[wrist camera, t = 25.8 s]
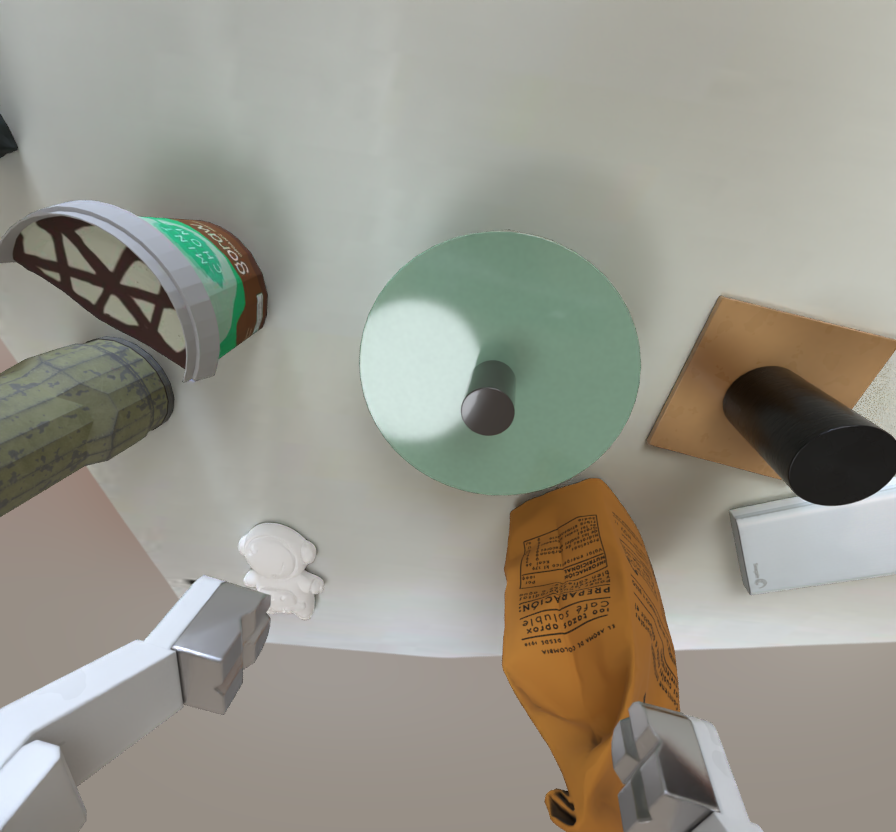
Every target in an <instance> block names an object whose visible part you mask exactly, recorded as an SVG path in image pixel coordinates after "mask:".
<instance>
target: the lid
mask: <svg viewBox="0 0 896 832" xmlns="http://www.w3.org/2000/svg"><path fill="white" fill-rule="evenodd" d="M359 367H360V380H361V385H362V389H363V394H364V398H365V400H366V403H367V406H368V409H369V412H370V414H371V416H372V418H373V420H374V422H375V424H376V426H377V427H378V429H379V430H380V432H381V433H382V435H383V436H384V438H385V439H386V440H387V442H388V443H389V444H390V445H391V446H392V448H393V449H394V450H395V451H396V452H397V453H398V454H399V455H400V456H401V457H402V458H403V459H405V460H406V461H407V462H408V463H409V464H411V465H412V466H413V467H415V468H416V469H417V470H419V471H420V472H422V473H424V474H425V475H427V476H429V477H430V478H432V479H434V480H436V481H439V482H441V483H443V484H445V485H448V486H451V487H454V488H457V489H460V490H463V491H468V492H472V493H477V494H486V495H517V494H526V493H530V492H535V491H540V490H543V489H546V488H549V487H552V486H555V485H557V484H560V483H562V482H564V481H566V480H568V479H570V478H572V477H574V476H575V475H577V474H579V473H580V472H582V471H583V470H585V469H586V468H588V467H589V466H590V465H591V464H593V463H594V462H595V461H596V460H598V459H599V458H600V457H601V456H602V455H603V454H604V453H605V452H606V450H607V449H608V448H609V447H610V446H611V445H612V444H613V442H614V441H615V440H616V438H617V437H618V436H619V434H620V433H621V431H622V429H623V427H624V426H625V424H626V422H627V420H628V419H629V416H630V414H631V411H632V409H633V406H634V403H635V401H636V396H637V392H638V388H639V383H640V371H641V359H640V346H639V342H638V337H637V332H636V328H635V326H634V323H633V320H632V318H631V315H630V313H629V310H628V308H627V307H626V305H625V303H624V301H623V300H622V298H621V296H620V294H619V293H618V292H617V290H616V289H615V288H614V286H613V285H612V284H611V283H610V281H609V280H608V279H607V278H606V277H605V276H604V275H603V274H602V273H601V272H600V271H599V270H598V269H597V268H596V267H595V266H594V265H593V264H591V263H590V262H589V261H588V260H586V259H585V258H583V257H582V256H580V255H579V254H577V253H576V252H575V251H573V250H571V249H569V248H567V247H565V246H563V245H561V244H559V243H557V242H555V241H552V240H549V239H546V238H543V237H539V236H536V235H532V234H526V233H521V232H515V231H486V232H477V233H471V234H467V235H463V236H459V237H455V238H452V239H450V240H447V241H445V242H442V243H440V244H437V245H435V246H433V247H431V248H430V249H428V250H426V251H424V252H423V253H421V254H419V255H418V256H416V257H415V258H413V259H412V260H411V261H410V262H408V263H407V264H406V265H405V266H403V267H402V268H401V269H400V270H399V271H398V272H397V273H396V274H395V275H394V276H393V277H392V278H391V280H390V281H389V282H388V283H387V284H386V286H385V287H384V289H383V290H382V291H381V293H380V294H379V296H378V297H377V299H376V301H375V303H374V305H373V307H372V309H371V311H370V313H369V315H368V318H367V321H366V324H365V327H364V330H363V335H362V340H361V345H360V358H359Z"/></svg>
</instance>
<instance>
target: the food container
mask: <svg viewBox="0 0 896 832" xmlns="http://www.w3.org/2000/svg"><path fill="white" fill-rule="evenodd" d="M10 262H17V263H19V264H20V265H22V266H23V267H25V268H26V269H27V270H29V271H31V272H34V273H35V274H37V275H39V276H41V277H42V278H44V279H45V280H47V281H48V282H50V283H51V284H53V285H54V286H56V287H57V288H59V289H60V290H62V291H63V292H65V293H66V294H67V295H68V296H70V297H71V298H72V299H73V300H75V301H76V302H77V303H78V304H80V305H81V306H82V307H83V308H85V309H86V310H87V311H89V312H90V313H91V314H93V315H94V316H95V317H96V318H98V319H99V320H101V321H103V322H105V323H107V324H108V325H110V326H112V327H114V328H116V329H117V330H119V331H121V332H123V333H125V334H127V335H129V336H131V337H133V338H135V339H137V340H139V341H141V342H142V343H144V344H146V345H148V346H150V347H151V348H153V349H154V350H156V351H157V352H159V353H161V354H162V355H164V356H165V357H167V358H168V359H170V360H172V361H173V362H175V363H176V364H178V365H179V366H181V367H182V368H184V369H185V373H184V377H183V381H182V382H183V383H184V382H186V381H189V380H191V379H193V380H194V381H198V380H201V379H205V378H208V377H211V376H214V375H215V372H216V369H217V365H218V360H219V359H220V358H221V357H222V356H224V355H225V354H226V353H228V352H229V351H231V350H232V349H233V348H235V347H236V346H237V345H239V344H240V343H242V342H243V341H244V340H246V339H247V338H249V337H250V336H251V335H253V334H254V333H255V332H257V331H258V330H260V329H261V328H262V327H263V324H264V321H265V318H266V315H267V291H266V287H265V283H264V279H263V275H262V272H261V270H260V268H259V267H258V265H257V263H256V261H255V259H254V257H253V256H252V254H251V252H250V251H249V250H248V249H247V248H246V247H245V246H244V245H243V243H242V242H241V241H240V240H239V239H238V238H236V237H235V236H234V235H233V234H231V233H230V232H229V231H227V230H225V229H224V228H222V227H220V226H218V225H215V224H213V223H210V222H205V221H200V220H184V219H169V218H153V217H138V216H136V215H135V214H133V213H131V212H129V211H127V210H124V209H122V208H119V207H117V206H114V205H111V204H107V203H103V202H99V201H90V200H76V201H70V202H64V203H61V204H57V205H53V206H50V207H46V208H42V209H40V210H37V211H35V212H32V213H30V214H28V215H27V216H26V217H24V218H23V219H21V220H19V221H18V222H17V223H15V224H14V225H13V226H11V227H10V228H9V229H8V230H7V232H6V233H5V234H4V235H3V237H2V238H1V240H0V263H10Z"/></svg>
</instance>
